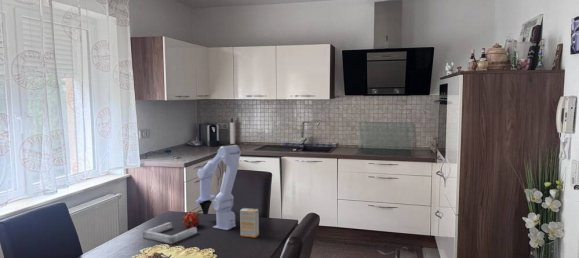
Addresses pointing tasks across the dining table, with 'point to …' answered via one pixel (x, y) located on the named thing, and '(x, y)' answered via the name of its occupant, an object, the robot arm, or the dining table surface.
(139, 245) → the dining table surface
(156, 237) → the grey u-shaped bracket
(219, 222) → the robot arm
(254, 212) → the supplement box
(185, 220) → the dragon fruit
